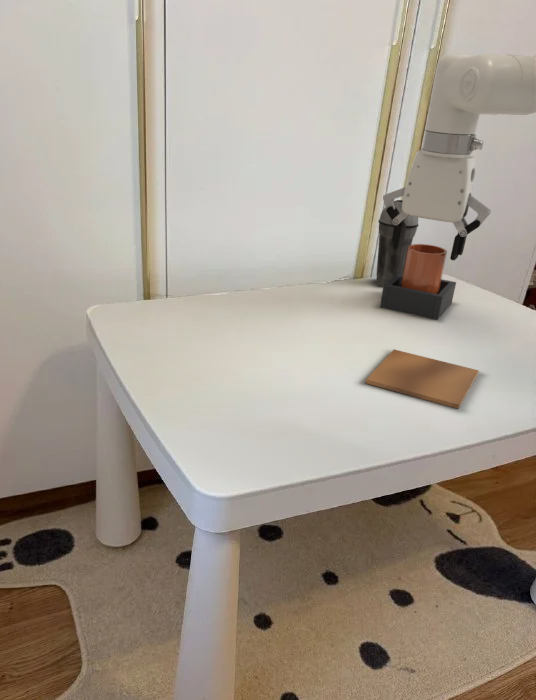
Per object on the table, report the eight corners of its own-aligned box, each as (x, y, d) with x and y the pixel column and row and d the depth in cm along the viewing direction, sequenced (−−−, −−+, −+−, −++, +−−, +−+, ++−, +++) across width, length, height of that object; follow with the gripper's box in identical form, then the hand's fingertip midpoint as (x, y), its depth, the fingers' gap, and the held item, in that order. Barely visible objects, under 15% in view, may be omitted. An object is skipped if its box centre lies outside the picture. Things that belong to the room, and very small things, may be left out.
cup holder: (451, 303, 113) (456, 282, 111) (437, 320, 105) (442, 297, 103) (397, 292, 117) (400, 271, 115) (379, 307, 109) (383, 284, 107)
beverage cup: (362, 278, 123) (378, 171, 114) (396, 277, 125) (415, 171, 116) (378, 290, 117) (397, 177, 108) (414, 289, 119) (435, 178, 110)
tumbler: (439, 304, 112) (450, 248, 107) (429, 314, 107) (441, 256, 102) (403, 297, 115) (413, 242, 110) (393, 306, 110) (403, 249, 105)
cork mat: (478, 374, 87) (479, 370, 86) (458, 409, 77) (459, 404, 77) (393, 352, 92) (393, 349, 91) (365, 383, 82) (366, 379, 82)
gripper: (509, 149, 98) (482, 257, 106) (400, 137, 105) (383, 239, 113) (500, 153, 92) (473, 268, 100) (386, 140, 99) (369, 248, 107)
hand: (425, 253), depth 107 cm, fingers open, 9 cm apart
